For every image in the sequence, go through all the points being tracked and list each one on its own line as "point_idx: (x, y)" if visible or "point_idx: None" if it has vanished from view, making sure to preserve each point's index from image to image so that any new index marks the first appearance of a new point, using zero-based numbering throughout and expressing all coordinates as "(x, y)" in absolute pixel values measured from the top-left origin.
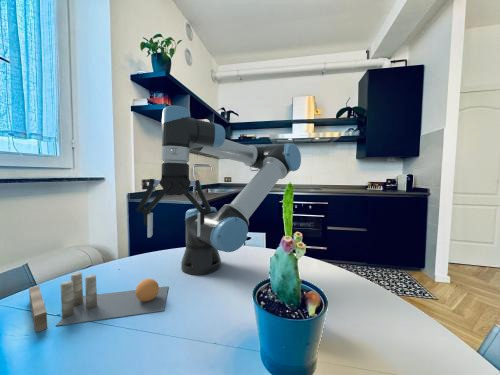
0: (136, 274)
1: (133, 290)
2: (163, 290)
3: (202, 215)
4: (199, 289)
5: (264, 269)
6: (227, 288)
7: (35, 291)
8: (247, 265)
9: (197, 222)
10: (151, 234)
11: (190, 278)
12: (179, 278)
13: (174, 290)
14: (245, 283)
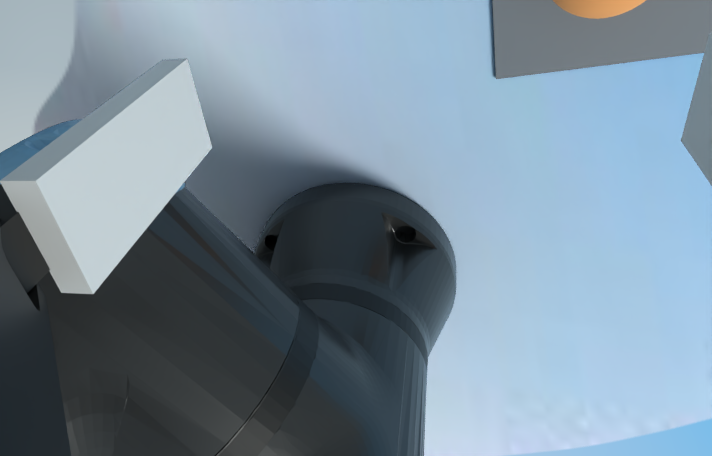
0: (690, 230)
1: (689, 50)
2: (516, 34)
3: (3, 197)
4: (324, 33)
5: None
6: (183, 29)
7: None
8: None
9: (105, 122)
10: (701, 97)
11: (391, 154)
12: (449, 160)
13: (456, 36)
14: (105, 71)
